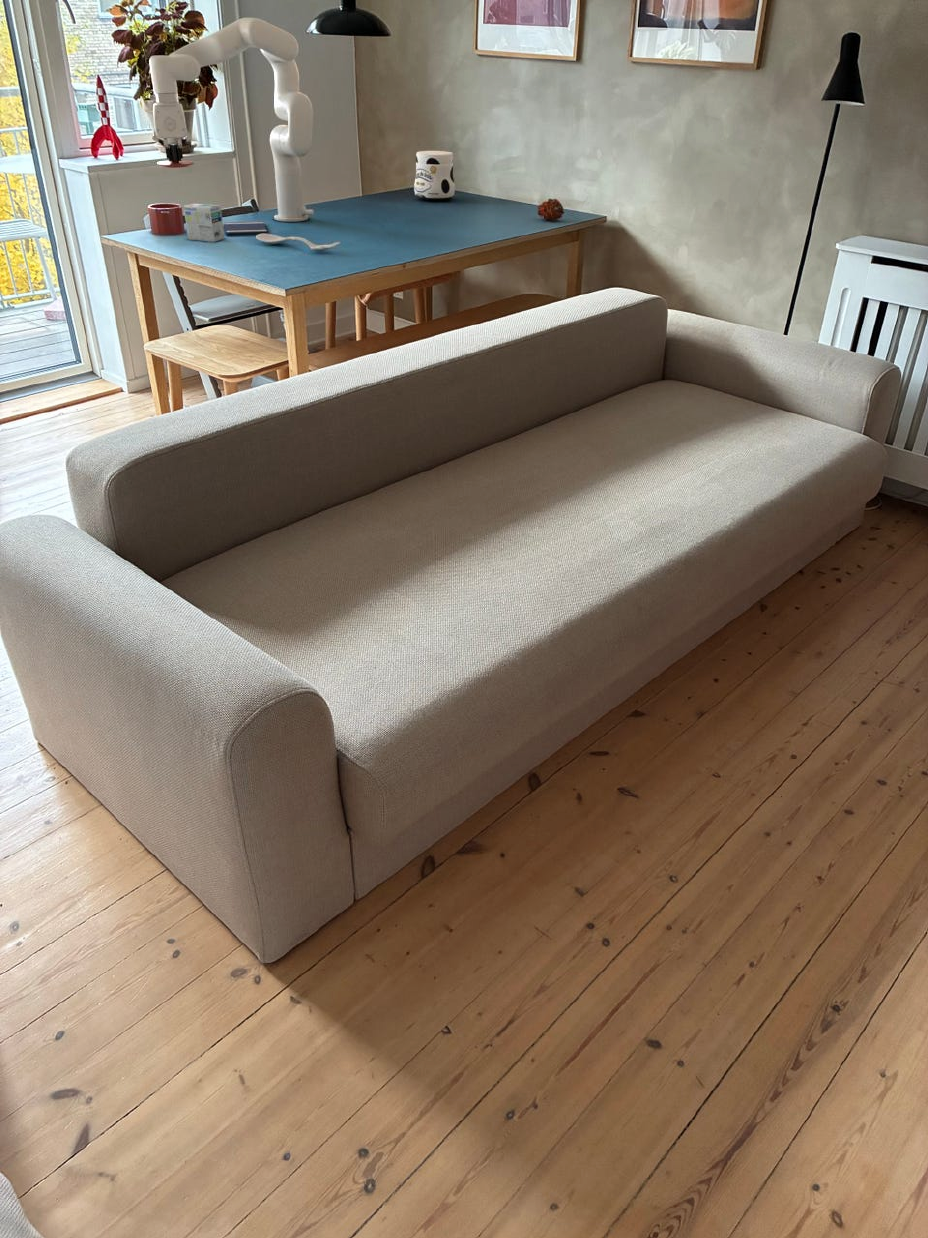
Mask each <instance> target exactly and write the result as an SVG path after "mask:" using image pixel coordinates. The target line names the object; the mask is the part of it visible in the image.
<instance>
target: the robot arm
mask: <svg viewBox="0 0 928 1238" xmlns="http://www.w3.org/2000/svg"><path fill="white" fill-rule="evenodd" d="M250 48H255V49H259V50H260V52H261V54H262V55H263V57H265V58H266V59H267V61H268V62H269V64H270V65H271V67H272V70H273V75H274V95H273V97H274V99H273V100H274V101H273V102H274V103H273V108H274V114H275V116H277V118H278V119H280V120H282V121H286V122H288V123H287V124H279V125H276V126H275V127H273V128H272V130H271V132H270V135H269V144H270V150H271V154H272V158H273V166H274V167H273V168H274V179H275V192H276V203H277V204H276V205H277V214H275V215H274V216H273V217H274V218H273V219H274V220H275V221H277V222H285V223H294V222H295V223H299V222H305V221H307V220H309V216H310V217H311V216H312V217H313V216H315V210H314V209H308V208H307V206H306V205H304V199H303V195H304V194H303V181H302V180H303V179H302V166H301V162H300V158H301V157H302V158H303V157H305V156H306V155H307V154H309V152H310V150H311V148H312V142H313V124H314V110H313V109H314V108H313V104H312V101H311V100H310V98H309V96H307V94H305V93H303V92H301V91H300V74H299V69H298V66H297V63H296V60H295V59H296V57H297V56H298V54H299V44H298V41H297V39H296V37H295V36H294V35H292V33H289V31H287V30H284V29H282V28H279V27H278V26H275V24H271V23H270V22H268V21H265V20H263V19H261V18H258V17H242V18H239V19H237V20H235V21H233V22H231V23H230V24H228V25H226V26H224V27H222V28H221V29H219V30H217V31H215V32H213V33H211V34H209V35H207V36H204V37H201V38H199V39H198V40H195V41H193V42H190V43H188V44H186V45H183V46H181V47H180V48H178V49H176V50H174V51H173V52H171V53H170V54H168V55H160V54H159V55H151V56H150V58H149V60H148V61H149V69H150V75H151V80H152V82H151V83H152V88H153V89H152V90H153V94H151V95H149V99H150V101H154V102H155V103H153V105H152V106H153V107H152V114H153V115H152V117H153V123H154V124H153V126H154V131H153V135H152V140H153V141H154V142H157V143H158V144H160V145H161V146H162V147H163V148H164V149H165V157H166V159H167V160H169V162H171V154H170V148H169V142H168V141H169V140H168V139H176V141H177V149H178V156H179V161H181V160H182V159H184V154H183V153H184V152H183V147H184V146H185V145H186V143H188V142H189V141H191V140H192V139H193V137H192V135H191V134H190V132H189V130H188V128H187V123H186V116H185V112H184V108H183V105H182V103H180V101H179V99H180V98H179V93H178V85H177V81H183V82H194V81H195V80H197V79H198V78H199V76H200V74H201V68H203V67H207V66H212V65H218V64H219V65H220V64H222V63H225V62H227V61H229V60H231V59H232V58H235V57H236V56H238V55H240V54H241V53H243V52H245V51H247V50H248V49H250Z"/></svg>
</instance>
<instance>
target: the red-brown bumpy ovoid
mask: <svg viewBox="0 0 928 1238" xmlns="http://www.w3.org/2000/svg"><path fill="white" fill-rule="evenodd" d="M536 212H537V215H538V216H540V218H543V220H544V221H545V222H548V221H550V222H556V221H557V220H558V219H561V218H562V217H563V215H564V214H565V211H564V206H563V204H562V203H561V202H560V201H559V200H558V199H557V198H553V199H552V198H548V199H547V200H546V201H543V202H542V203H541V204H539V205H538V207H537V211H536Z"/></svg>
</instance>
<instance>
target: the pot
mask: <svg viewBox="0 0 928 1238" xmlns="http://www.w3.org/2000/svg"><path fill="white" fill-rule="evenodd" d="M147 211H148V218H149V224H150V232H151V234H153V235H156V236H177V235H181V234H184V233H185V232H186V230H185V229H186V228H185V221H184V215H183V214H184V213H183V206H182V205H181V204H179V203H169V202H167V203H165V202H164V203H153V204H149V205H148V206H147Z"/></svg>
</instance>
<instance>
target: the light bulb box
mask: <svg viewBox="0 0 928 1238" xmlns="http://www.w3.org/2000/svg"><path fill="white" fill-rule="evenodd" d="M183 211H184V213H183V214H184V220H185V227H186V228H185V229H186V234H187V235H186V236H187V240H188V241H189V240H190V241H199V242H210V243H211V242H212V243H214V242H219V241H222V240H225V229H224V222H223V215H222V214H223V213H222V206H221V205H220V204H208V203H207V204H206V203H205V204H204V203H196V202H195V203H191V204H185V205H183Z"/></svg>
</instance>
